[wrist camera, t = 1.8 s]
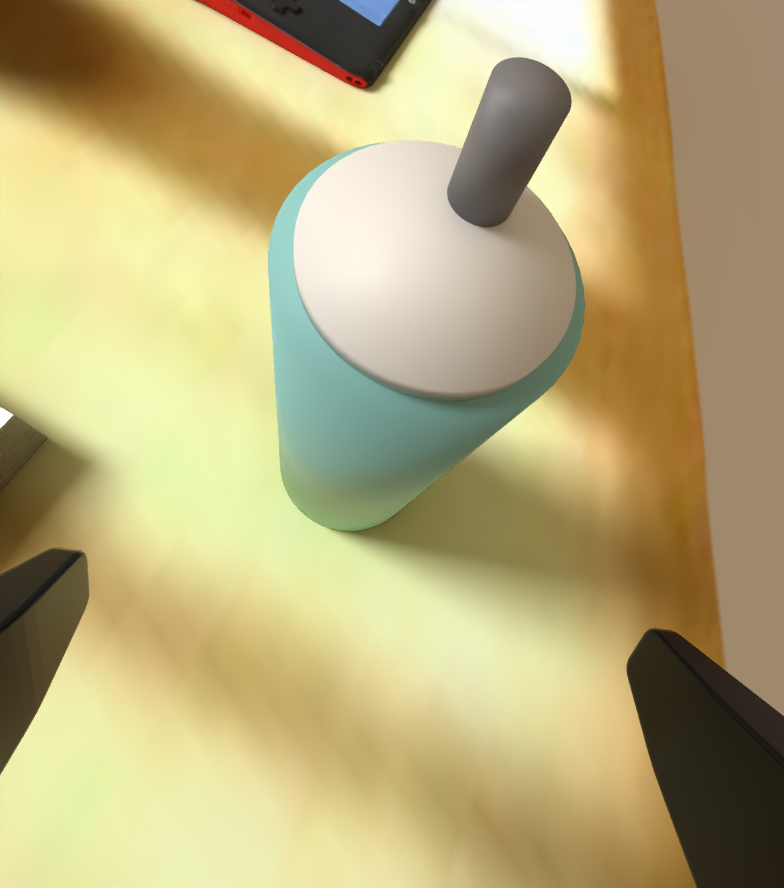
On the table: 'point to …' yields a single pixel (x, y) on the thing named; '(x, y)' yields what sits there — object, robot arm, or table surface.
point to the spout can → (419, 304)
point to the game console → (331, 30)
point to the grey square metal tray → (15, 444)
